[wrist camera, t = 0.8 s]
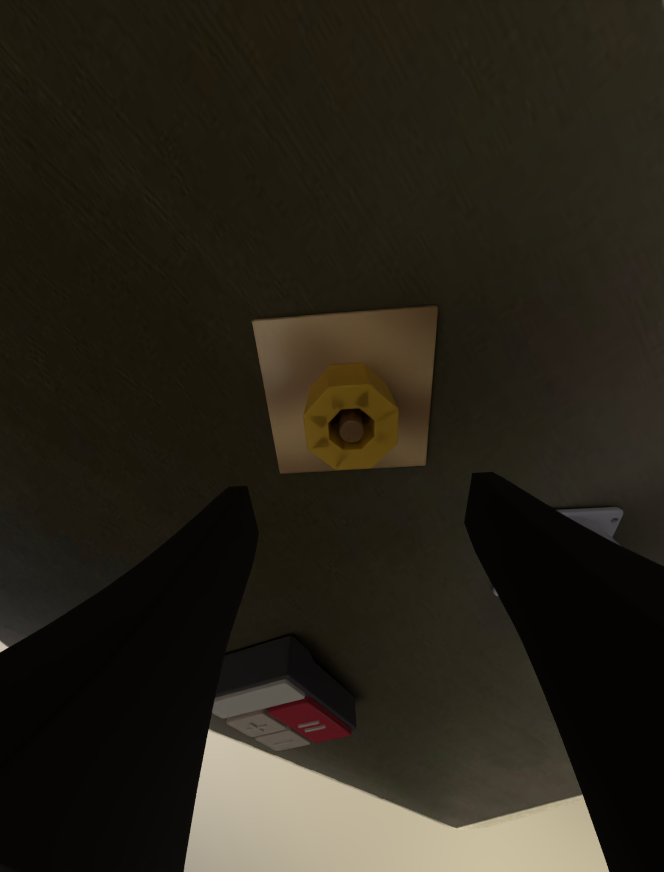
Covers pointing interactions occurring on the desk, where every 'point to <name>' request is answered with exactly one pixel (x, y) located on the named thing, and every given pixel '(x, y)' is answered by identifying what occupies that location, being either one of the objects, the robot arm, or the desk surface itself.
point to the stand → (348, 344)
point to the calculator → (282, 696)
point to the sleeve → (350, 391)
